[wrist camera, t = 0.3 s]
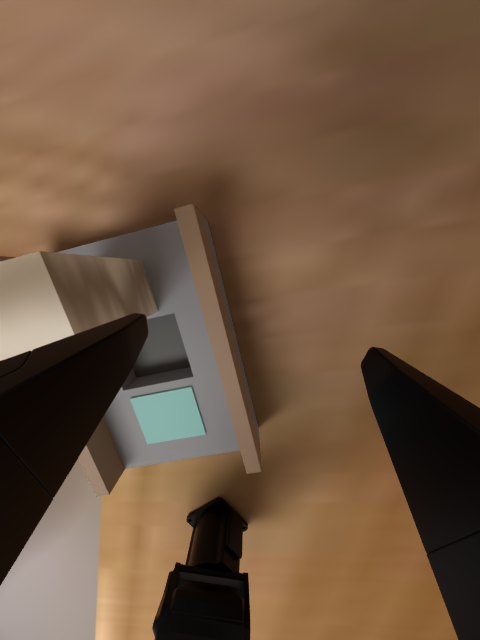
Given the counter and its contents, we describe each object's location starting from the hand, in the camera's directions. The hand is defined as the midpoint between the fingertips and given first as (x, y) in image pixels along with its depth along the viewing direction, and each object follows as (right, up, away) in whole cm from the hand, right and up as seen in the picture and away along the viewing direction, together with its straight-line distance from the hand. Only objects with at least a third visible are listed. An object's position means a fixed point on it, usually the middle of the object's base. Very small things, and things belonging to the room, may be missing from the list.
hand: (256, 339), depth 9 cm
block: (-12, +3, +12) cm, 17 cm away
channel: (-10, -3, +17) cm, 19 cm away
